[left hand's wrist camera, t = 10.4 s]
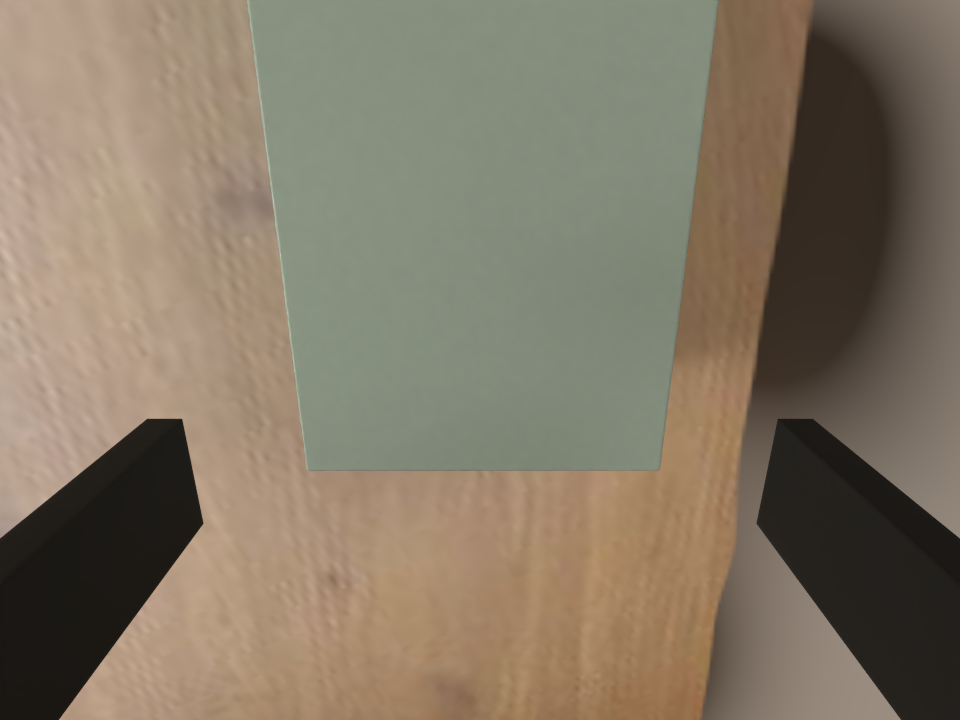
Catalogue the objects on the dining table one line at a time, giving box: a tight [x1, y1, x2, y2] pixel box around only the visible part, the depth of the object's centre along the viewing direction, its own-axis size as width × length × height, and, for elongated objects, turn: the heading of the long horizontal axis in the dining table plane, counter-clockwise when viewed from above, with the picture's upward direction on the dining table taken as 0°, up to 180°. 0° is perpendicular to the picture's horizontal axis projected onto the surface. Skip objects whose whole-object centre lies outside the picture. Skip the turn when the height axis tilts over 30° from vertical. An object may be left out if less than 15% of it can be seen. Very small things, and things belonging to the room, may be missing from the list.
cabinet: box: [247, 0, 719, 471], centre depth 18 cm, size 19×11×8 cm, turn 0°
